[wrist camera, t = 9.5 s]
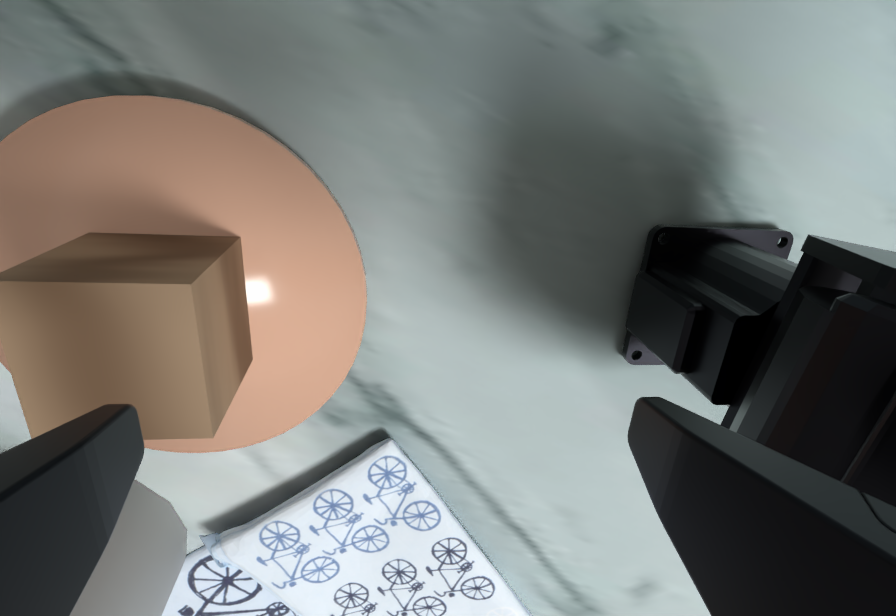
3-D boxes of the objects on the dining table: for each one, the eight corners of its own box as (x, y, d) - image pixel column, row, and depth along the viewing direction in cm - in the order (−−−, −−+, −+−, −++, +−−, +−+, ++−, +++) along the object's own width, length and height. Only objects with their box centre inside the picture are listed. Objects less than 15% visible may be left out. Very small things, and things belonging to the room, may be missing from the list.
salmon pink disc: (367, 109, 18) (366, 110, 17) (367, 429, 23) (366, 448, 22) (-70, 80, 16) (-109, 78, 15) (39, 436, 21) (17, 457, 20)
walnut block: (240, 236, 18) (191, 284, 13) (253, 359, 20) (213, 438, 15) (89, 232, 17) (-19, 280, 13) (117, 359, 19) (32, 442, 14)
